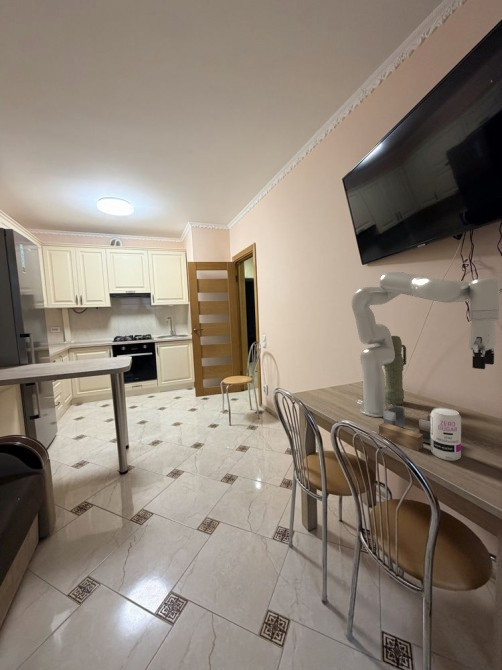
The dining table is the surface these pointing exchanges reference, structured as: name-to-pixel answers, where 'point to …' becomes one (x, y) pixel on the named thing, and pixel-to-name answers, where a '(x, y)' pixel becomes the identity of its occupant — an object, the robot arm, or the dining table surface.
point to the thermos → (395, 374)
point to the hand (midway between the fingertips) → (483, 366)
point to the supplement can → (446, 434)
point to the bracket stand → (397, 418)
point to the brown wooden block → (402, 436)
